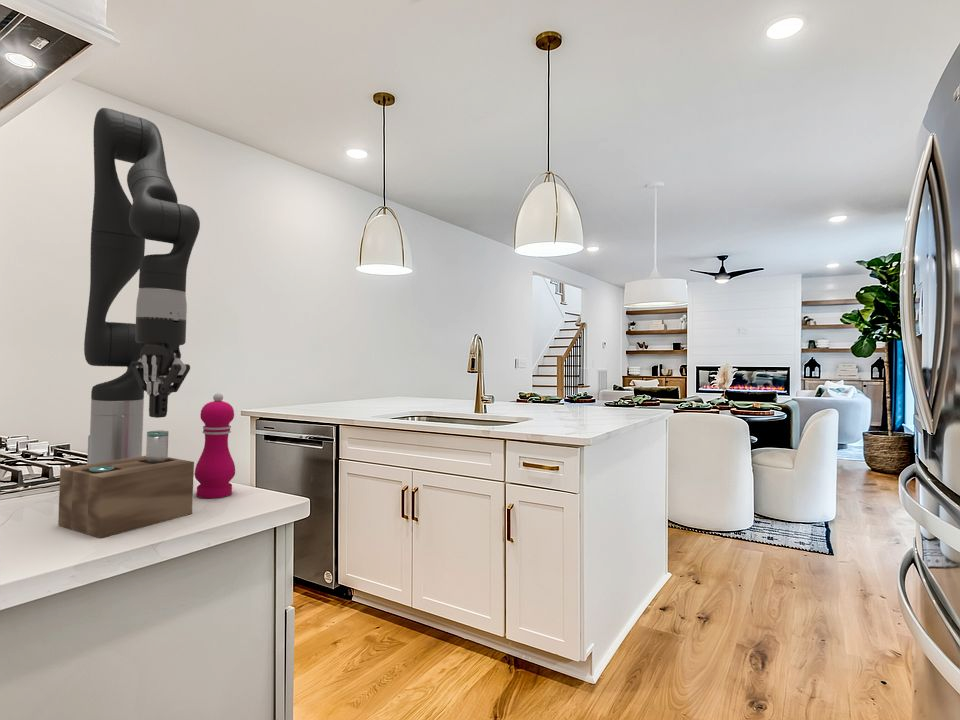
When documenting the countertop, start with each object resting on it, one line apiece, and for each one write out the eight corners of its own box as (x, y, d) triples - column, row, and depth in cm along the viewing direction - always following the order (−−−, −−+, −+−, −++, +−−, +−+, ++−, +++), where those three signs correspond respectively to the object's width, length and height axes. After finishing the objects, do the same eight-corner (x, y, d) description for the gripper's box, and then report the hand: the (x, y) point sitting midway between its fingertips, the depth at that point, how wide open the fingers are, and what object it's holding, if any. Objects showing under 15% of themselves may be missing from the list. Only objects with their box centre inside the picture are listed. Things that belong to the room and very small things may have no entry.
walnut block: (58, 525, 85) (60, 468, 85) (151, 503, 99) (152, 454, 99) (100, 538, 80) (102, 477, 80) (192, 513, 94) (194, 461, 94)
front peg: (82, 519, 85) (84, 468, 85) (104, 513, 88) (106, 464, 88) (95, 522, 83) (97, 470, 83) (116, 517, 86) (118, 467, 86)
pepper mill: (204, 501, 102) (208, 395, 102) (186, 494, 106) (190, 392, 106) (241, 494, 107) (245, 394, 107) (223, 488, 112) (226, 391, 112)
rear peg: (141, 478, 93) (142, 431, 93) (158, 475, 96) (160, 430, 96) (153, 481, 91) (154, 433, 91) (170, 477, 94) (172, 431, 94)
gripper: (115, 315, 93) (111, 415, 93) (166, 314, 87) (162, 422, 87) (157, 318, 100) (154, 412, 100) (207, 318, 94) (203, 418, 94)
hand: (158, 417), depth 93 cm, fingers closed
